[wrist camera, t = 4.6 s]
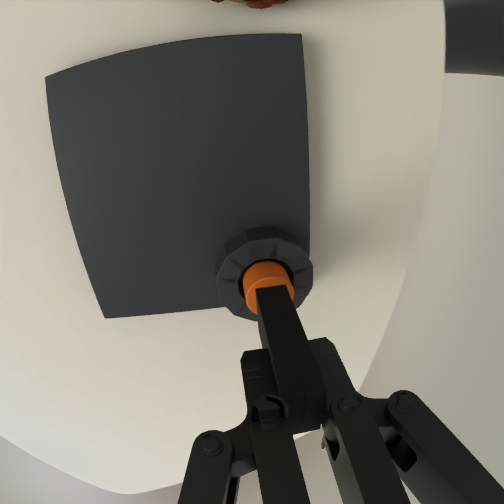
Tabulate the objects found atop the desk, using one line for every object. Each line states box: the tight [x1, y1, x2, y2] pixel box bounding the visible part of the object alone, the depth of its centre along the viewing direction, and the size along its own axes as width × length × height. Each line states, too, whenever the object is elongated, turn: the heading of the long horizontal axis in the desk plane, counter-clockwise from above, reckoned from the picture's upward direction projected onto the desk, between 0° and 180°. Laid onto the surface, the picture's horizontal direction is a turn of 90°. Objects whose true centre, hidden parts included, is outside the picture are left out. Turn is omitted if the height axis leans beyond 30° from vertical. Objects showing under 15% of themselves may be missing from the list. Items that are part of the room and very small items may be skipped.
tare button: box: [243, 261, 294, 314], centre depth 17 cm, size 3×3×2 cm
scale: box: [45, 34, 313, 322], centre depth 16 cm, size 14×16×3 cm
